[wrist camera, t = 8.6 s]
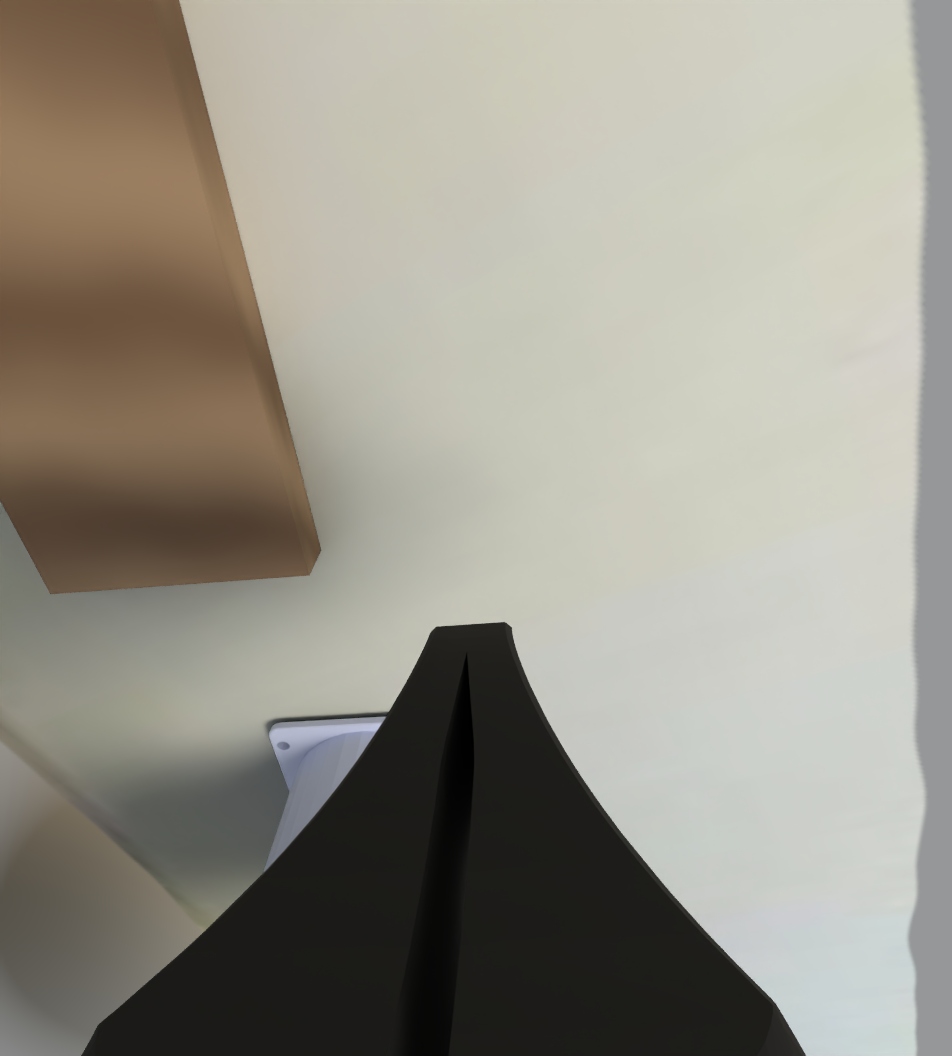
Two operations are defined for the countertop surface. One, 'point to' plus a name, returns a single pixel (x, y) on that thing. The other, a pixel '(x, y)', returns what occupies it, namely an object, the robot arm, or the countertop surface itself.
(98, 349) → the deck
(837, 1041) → the countertop surface
